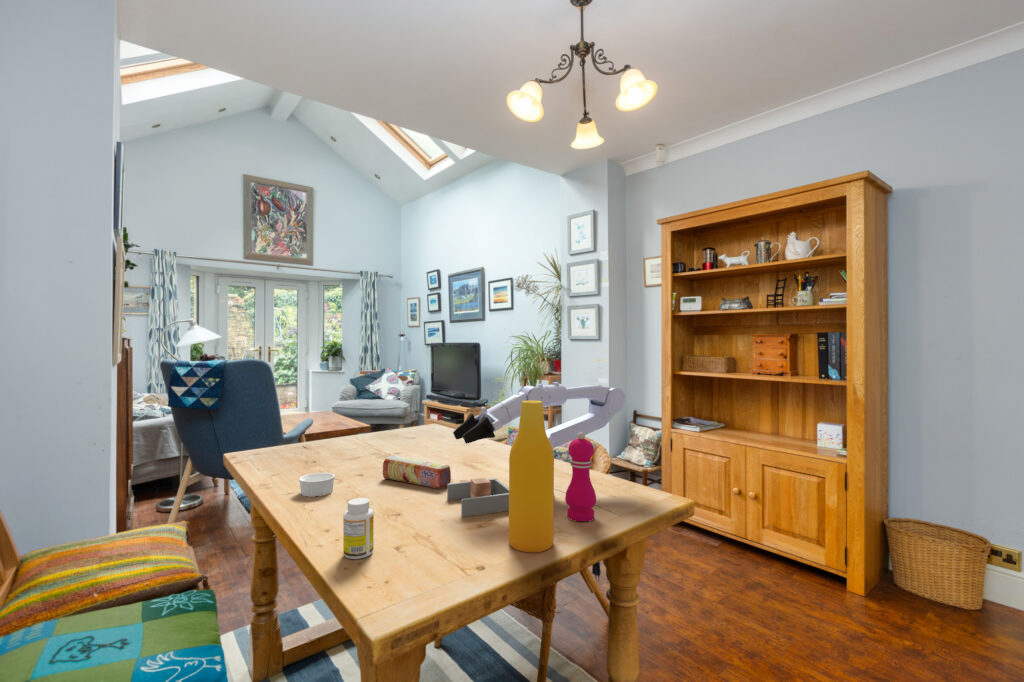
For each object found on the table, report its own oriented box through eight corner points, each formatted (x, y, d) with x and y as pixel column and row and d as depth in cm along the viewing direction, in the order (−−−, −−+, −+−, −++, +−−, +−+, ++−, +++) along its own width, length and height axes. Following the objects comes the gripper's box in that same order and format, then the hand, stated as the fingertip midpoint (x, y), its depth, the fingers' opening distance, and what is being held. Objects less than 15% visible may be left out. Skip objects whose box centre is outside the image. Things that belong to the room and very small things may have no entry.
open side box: (496, 493, 130) (496, 478, 130) (515, 509, 118) (515, 493, 118) (447, 499, 125) (447, 483, 125) (462, 517, 113) (462, 499, 113)
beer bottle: (540, 557, 92) (541, 405, 92) (499, 546, 97) (500, 402, 97) (561, 540, 100) (562, 400, 100) (523, 531, 105) (524, 397, 105)
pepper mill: (598, 513, 115) (599, 430, 115) (593, 524, 109) (594, 436, 108) (568, 510, 118) (569, 428, 118) (562, 520, 111) (562, 433, 111)
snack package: (452, 485, 138) (453, 461, 138) (438, 491, 132) (439, 467, 132) (395, 475, 148) (396, 453, 148) (380, 480, 142) (380, 457, 142)
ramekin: (291, 495, 128) (291, 479, 128) (316, 486, 136) (316, 470, 136) (317, 500, 124) (317, 483, 124) (341, 490, 132) (341, 474, 132)
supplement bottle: (363, 545, 97) (363, 494, 97) (379, 553, 93) (379, 500, 93) (337, 554, 93) (337, 501, 93) (353, 563, 89) (353, 508, 89)
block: (485, 501, 124) (485, 477, 124) (490, 506, 120) (490, 482, 120) (470, 503, 123) (470, 479, 123) (475, 508, 119) (475, 483, 119)
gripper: (487, 397, 133) (444, 420, 127) (509, 400, 120) (462, 426, 114) (497, 420, 134) (455, 444, 128) (520, 426, 120) (474, 453, 115)
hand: (459, 437), depth 121 cm, fingers open, 7 cm apart
